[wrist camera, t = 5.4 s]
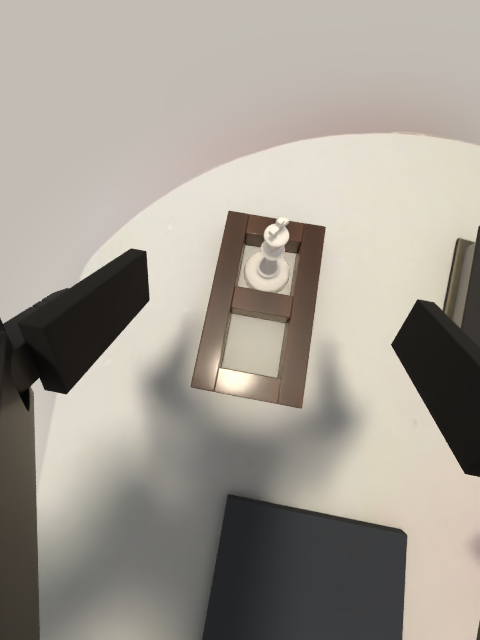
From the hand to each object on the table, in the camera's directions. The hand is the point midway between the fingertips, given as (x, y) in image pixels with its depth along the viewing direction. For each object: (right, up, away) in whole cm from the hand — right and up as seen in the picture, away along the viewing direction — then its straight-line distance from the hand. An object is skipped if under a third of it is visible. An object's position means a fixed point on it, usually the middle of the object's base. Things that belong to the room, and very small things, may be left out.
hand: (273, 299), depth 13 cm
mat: (+4, -24, +10) cm, 26 cm away
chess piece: (+1, +4, +16) cm, 16 cm away
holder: (0, 0, +15) cm, 15 cm away
